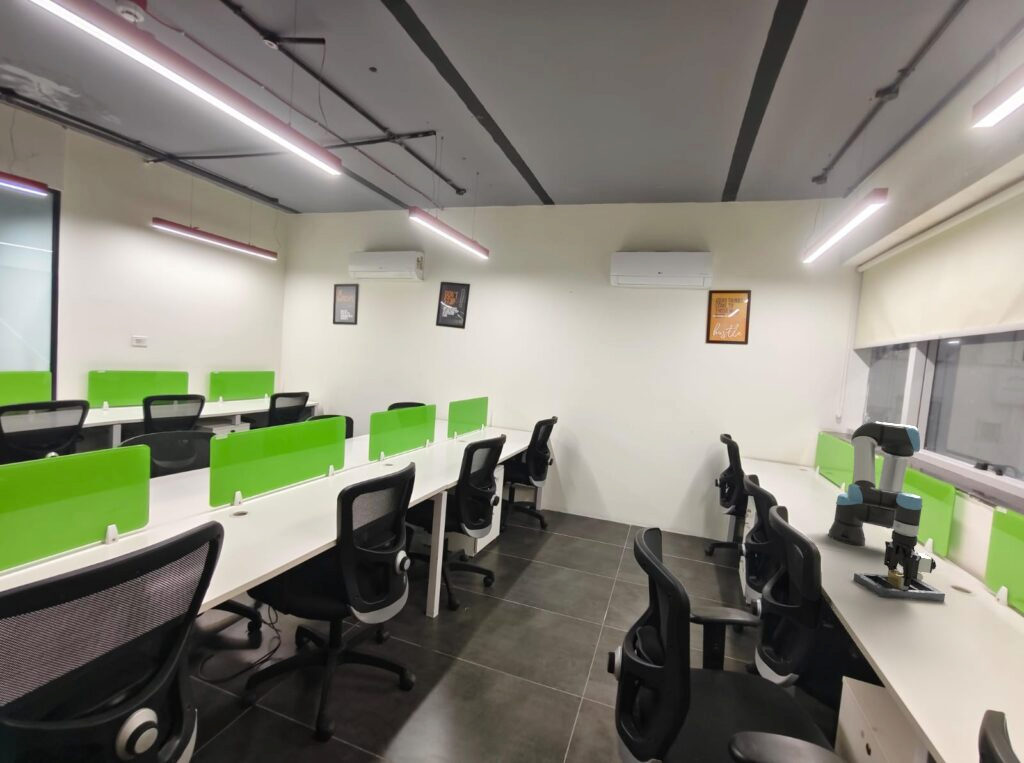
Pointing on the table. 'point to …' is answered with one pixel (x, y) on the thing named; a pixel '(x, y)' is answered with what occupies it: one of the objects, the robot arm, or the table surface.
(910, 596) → the grey slotted tray
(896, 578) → the tan rectangular block
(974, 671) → the table surface
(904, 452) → the robot arm
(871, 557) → the table surface
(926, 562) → the white security camera
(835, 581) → the table surface
